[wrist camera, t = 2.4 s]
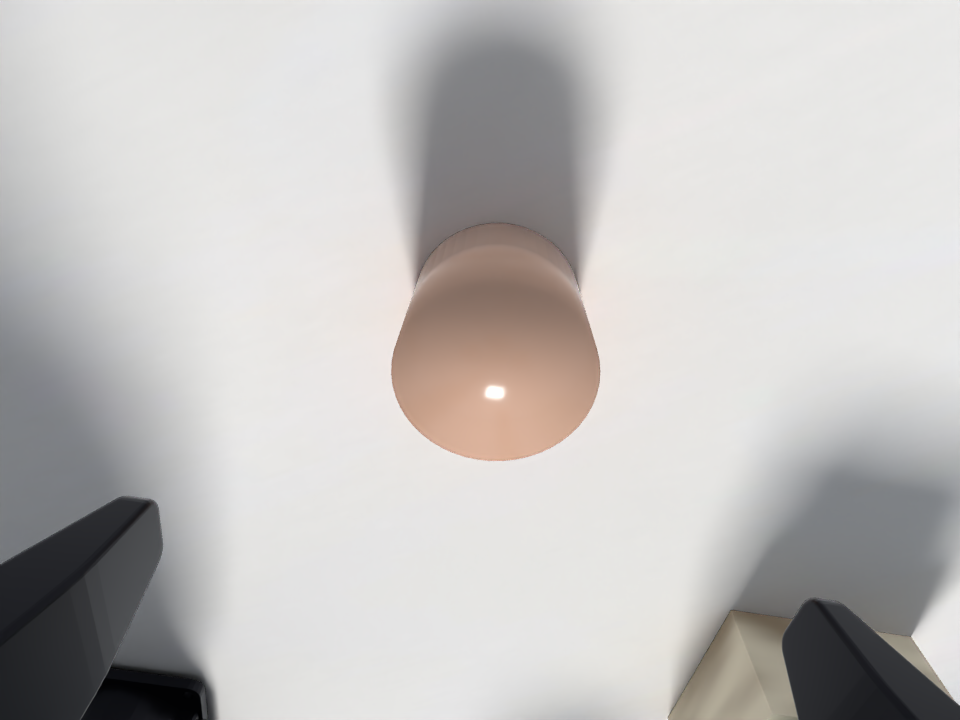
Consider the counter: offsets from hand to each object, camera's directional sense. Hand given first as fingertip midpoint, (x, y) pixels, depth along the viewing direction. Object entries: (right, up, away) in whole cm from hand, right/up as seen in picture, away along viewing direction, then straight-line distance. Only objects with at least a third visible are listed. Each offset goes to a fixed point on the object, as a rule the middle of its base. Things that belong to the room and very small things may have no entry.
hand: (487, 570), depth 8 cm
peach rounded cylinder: (0, +4, +8) cm, 9 cm away
